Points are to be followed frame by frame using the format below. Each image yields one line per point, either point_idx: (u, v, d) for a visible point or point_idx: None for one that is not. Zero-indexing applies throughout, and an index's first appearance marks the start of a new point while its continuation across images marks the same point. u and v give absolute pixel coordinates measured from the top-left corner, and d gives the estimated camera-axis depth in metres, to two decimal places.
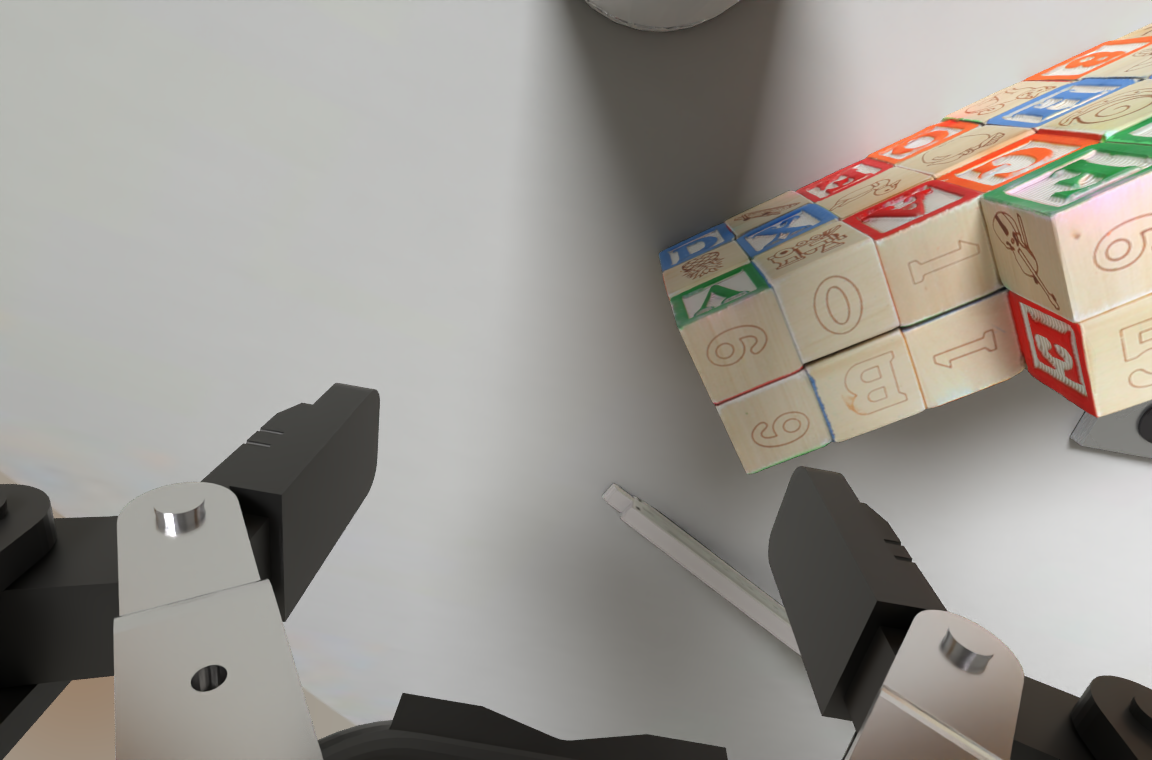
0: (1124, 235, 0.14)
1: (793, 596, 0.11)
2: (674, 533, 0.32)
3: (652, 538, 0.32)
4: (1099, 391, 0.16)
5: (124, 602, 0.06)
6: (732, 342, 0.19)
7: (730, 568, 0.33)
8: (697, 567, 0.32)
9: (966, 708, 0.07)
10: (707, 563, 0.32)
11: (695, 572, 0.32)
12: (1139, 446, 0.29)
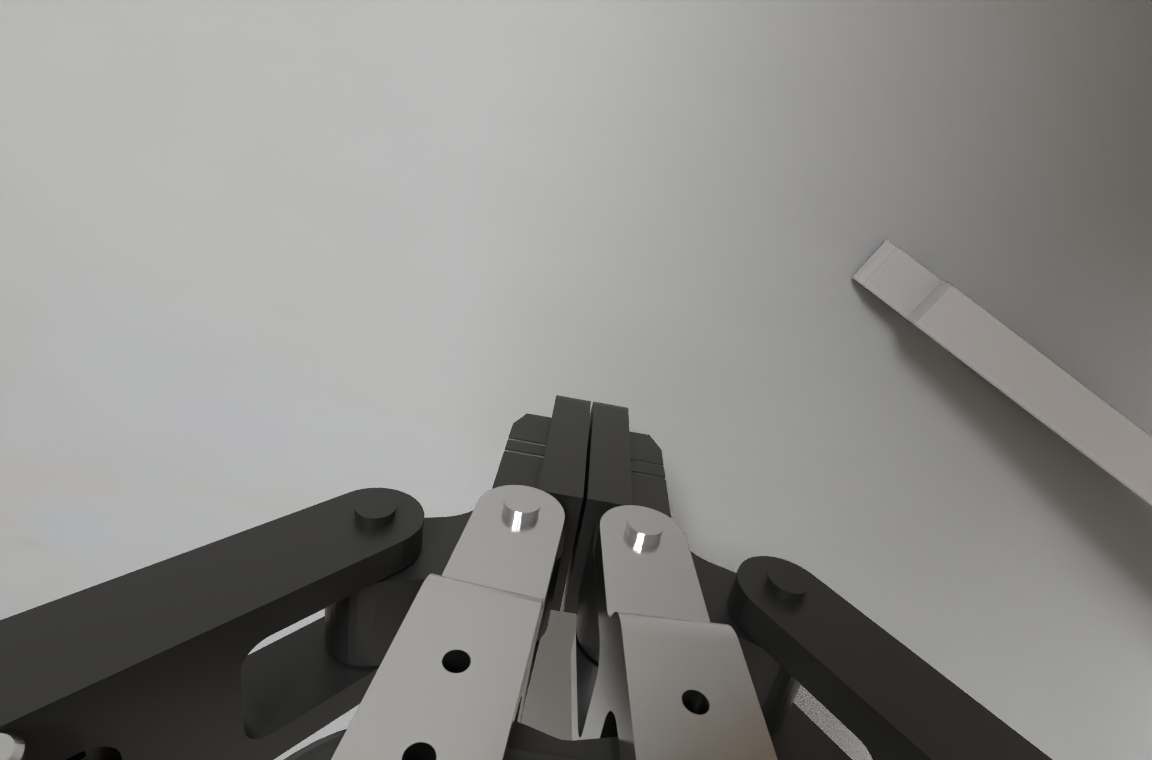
0: None
1: None
2: None
3: (1000, 373, 0.12)
4: None
5: (450, 565, 0.07)
6: None
7: None
8: (1119, 447, 0.12)
9: (666, 589, 0.07)
10: (1149, 436, 0.12)
11: (1111, 462, 0.12)
12: None
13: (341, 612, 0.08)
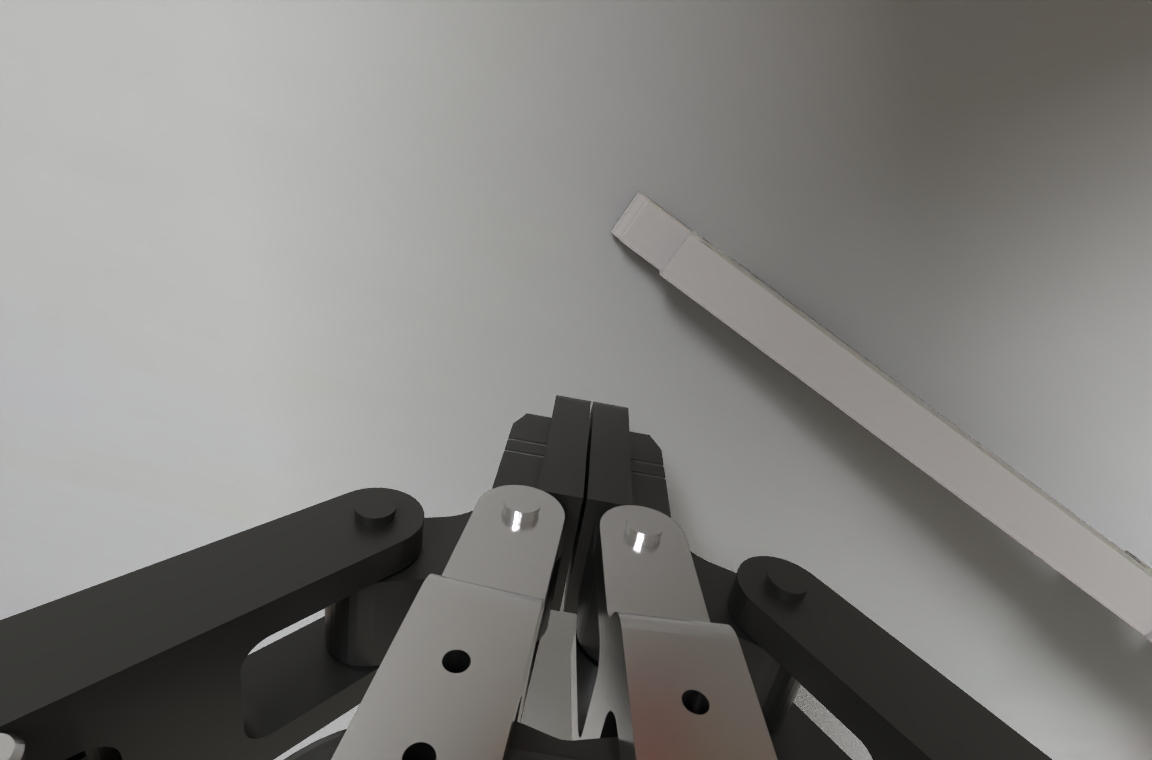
0: None
1: None
2: (800, 314, 0.12)
3: (745, 323, 0.12)
4: None
5: (450, 565, 0.07)
6: None
7: (937, 413, 0.13)
8: (866, 397, 0.12)
9: (666, 588, 0.07)
10: (893, 385, 0.12)
11: (859, 412, 0.12)
12: None
13: (341, 612, 0.08)
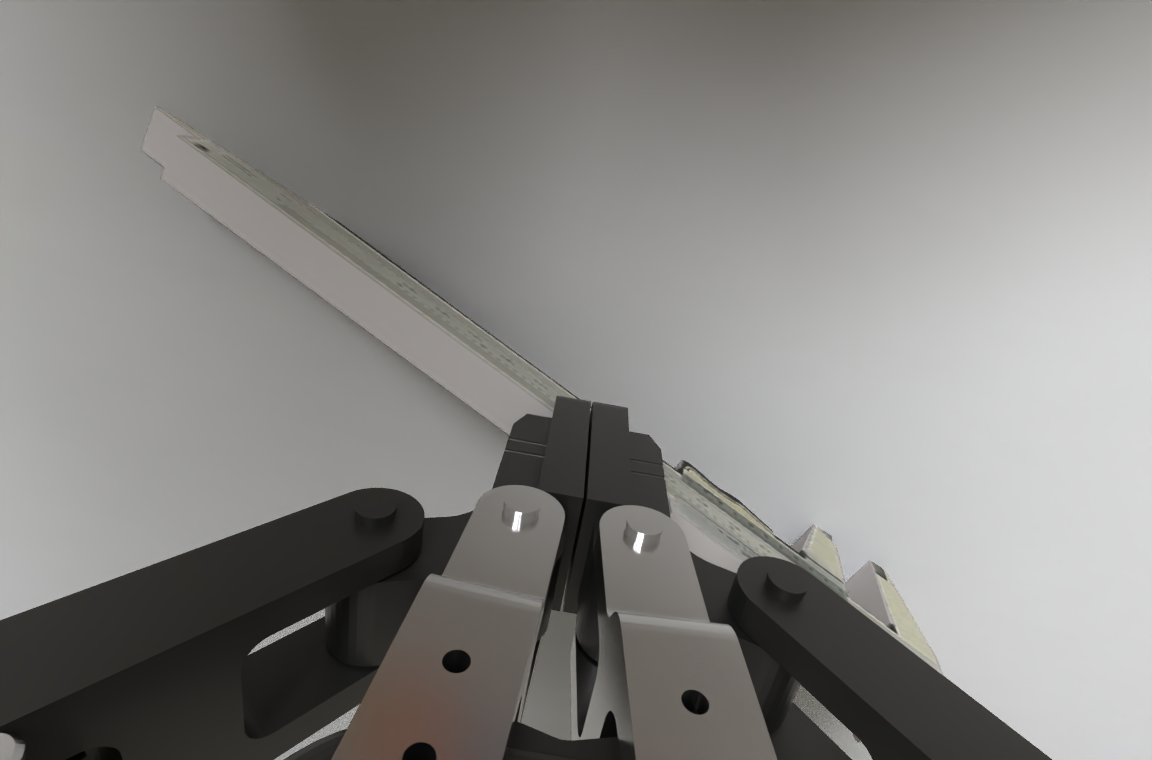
0: None
1: None
2: (302, 216, 0.13)
3: (239, 224, 0.12)
4: None
5: (451, 565, 0.07)
6: None
7: (462, 317, 0.13)
8: (355, 295, 0.12)
9: (665, 588, 0.07)
10: (378, 282, 0.12)
11: (353, 311, 0.12)
12: None
13: (341, 612, 0.08)
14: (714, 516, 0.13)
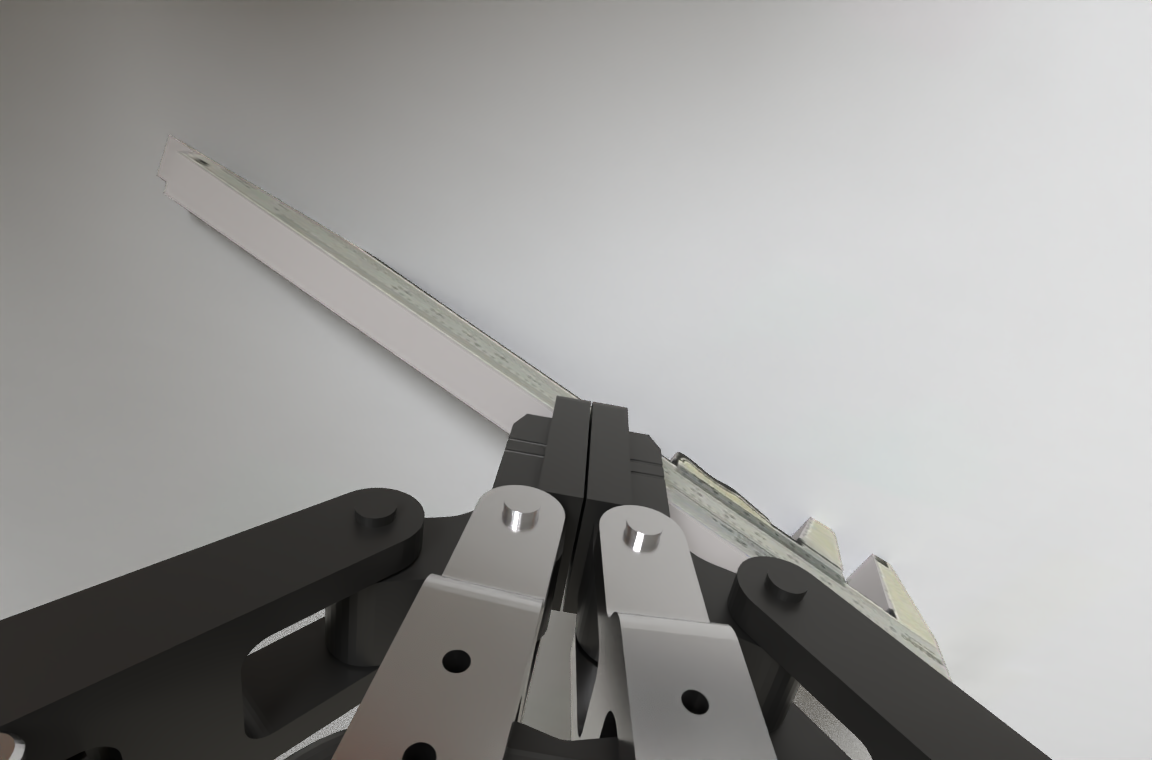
0: None
1: None
2: (299, 224, 0.13)
3: (239, 234, 0.13)
4: None
5: (450, 565, 0.07)
6: None
7: (457, 318, 0.14)
8: (351, 299, 0.13)
9: (665, 588, 0.07)
10: (373, 285, 0.13)
11: (350, 314, 0.13)
12: None
13: (341, 612, 0.08)
14: (708, 505, 0.13)
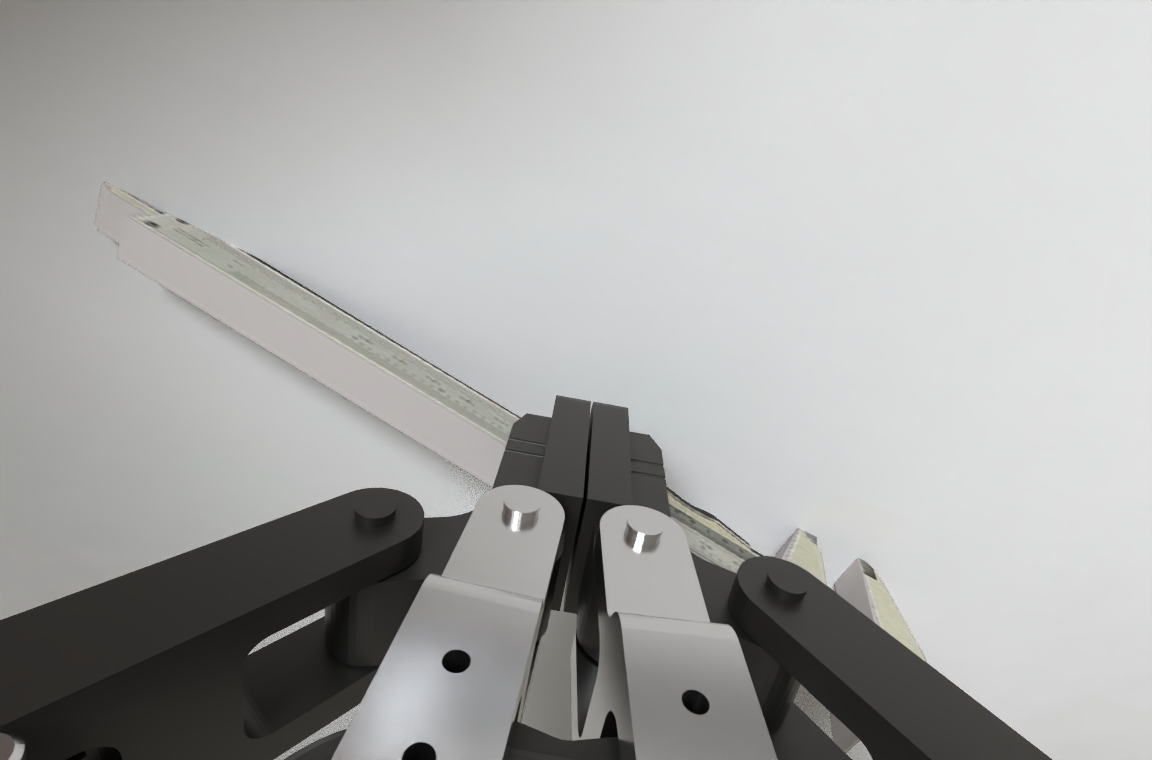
0: None
1: None
2: (255, 280, 0.13)
3: (194, 294, 0.13)
4: None
5: (450, 565, 0.07)
6: None
7: (421, 362, 0.13)
8: (311, 353, 0.13)
9: (665, 588, 0.07)
10: (331, 338, 0.13)
11: (310, 368, 0.13)
12: None
13: (341, 612, 0.08)
14: None
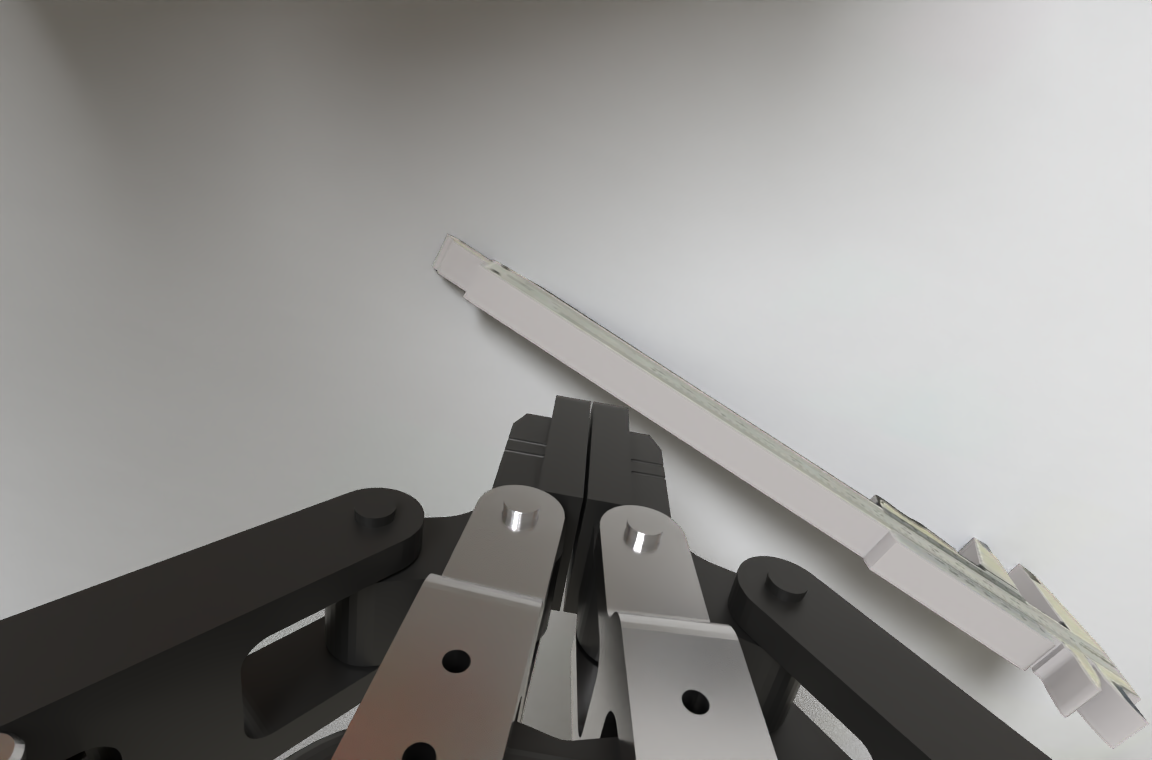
0: None
1: None
2: (574, 320, 0.16)
3: (529, 330, 0.16)
4: None
5: (450, 565, 0.07)
6: None
7: (697, 391, 0.17)
8: (624, 381, 0.16)
9: (666, 589, 0.07)
10: (644, 370, 0.16)
11: (622, 393, 0.16)
12: None
13: (341, 611, 0.08)
14: (919, 541, 0.16)
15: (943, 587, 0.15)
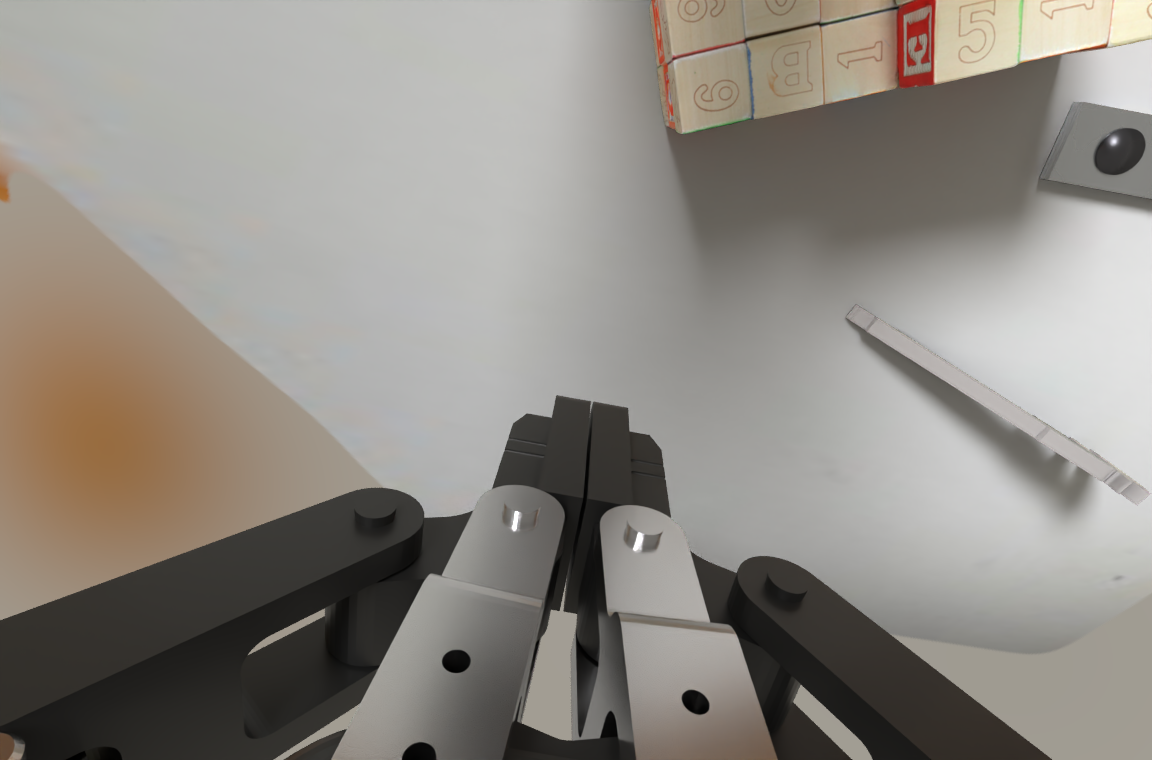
0: None
1: None
2: (913, 341, 0.38)
3: (896, 345, 0.38)
4: (938, 59, 0.23)
5: (451, 565, 0.07)
6: (698, 0, 0.25)
7: (960, 370, 0.39)
8: (936, 366, 0.38)
9: (666, 588, 0.07)
10: (945, 362, 0.38)
11: (935, 371, 0.38)
12: (1097, 178, 0.34)
13: (341, 612, 0.08)
14: (1056, 431, 0.38)
15: (1069, 447, 0.37)
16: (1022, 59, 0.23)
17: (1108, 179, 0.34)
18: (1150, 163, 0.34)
